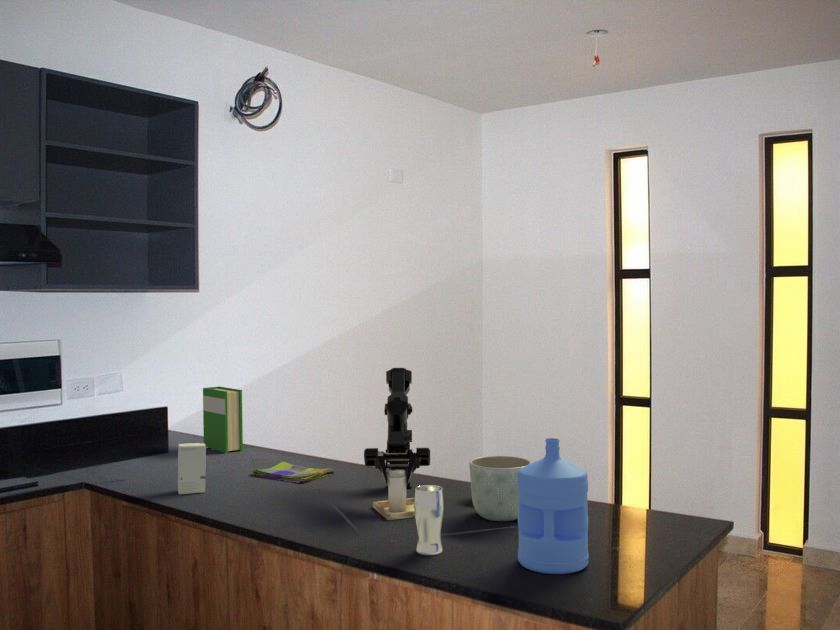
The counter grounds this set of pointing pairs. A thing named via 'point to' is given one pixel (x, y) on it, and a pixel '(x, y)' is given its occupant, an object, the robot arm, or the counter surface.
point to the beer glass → (429, 518)
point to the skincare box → (191, 468)
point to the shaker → (397, 490)
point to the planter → (496, 486)
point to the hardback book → (222, 419)
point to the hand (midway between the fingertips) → (397, 482)
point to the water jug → (553, 514)
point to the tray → (384, 511)
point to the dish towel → (292, 473)
